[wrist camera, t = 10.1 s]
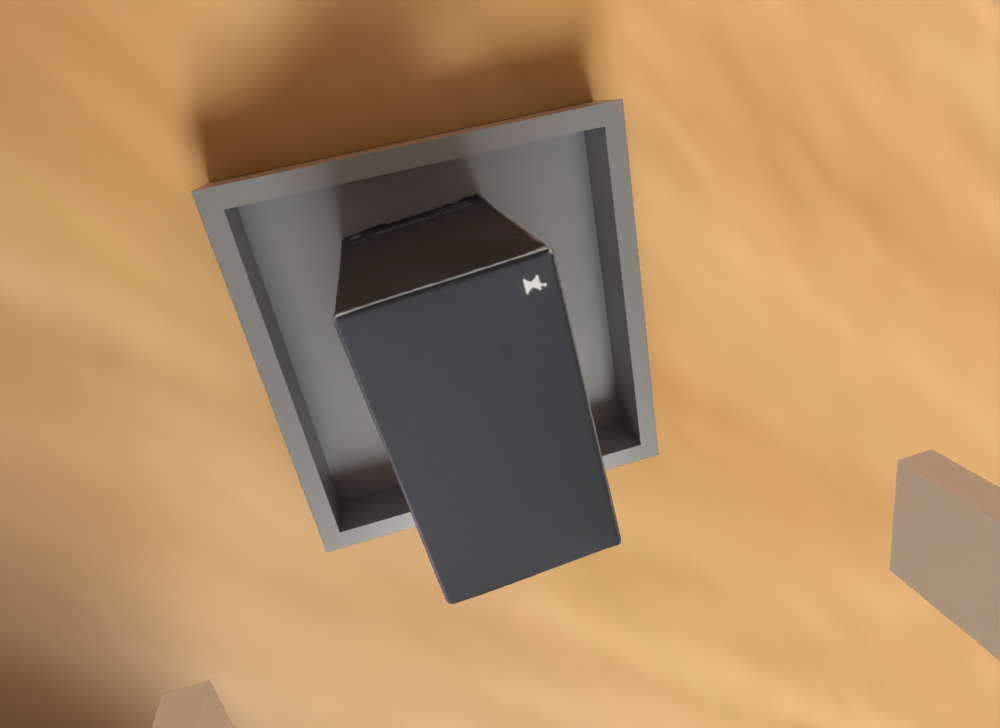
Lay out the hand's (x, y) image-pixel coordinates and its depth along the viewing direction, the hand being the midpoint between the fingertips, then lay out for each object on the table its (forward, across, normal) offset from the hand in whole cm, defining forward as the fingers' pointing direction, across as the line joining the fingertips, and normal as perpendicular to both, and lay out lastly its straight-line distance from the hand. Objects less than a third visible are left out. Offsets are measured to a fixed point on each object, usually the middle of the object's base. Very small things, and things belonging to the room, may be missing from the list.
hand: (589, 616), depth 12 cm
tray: (+18, 0, 0) cm, 18 cm away
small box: (+18, 0, 0) cm, 18 cm away
